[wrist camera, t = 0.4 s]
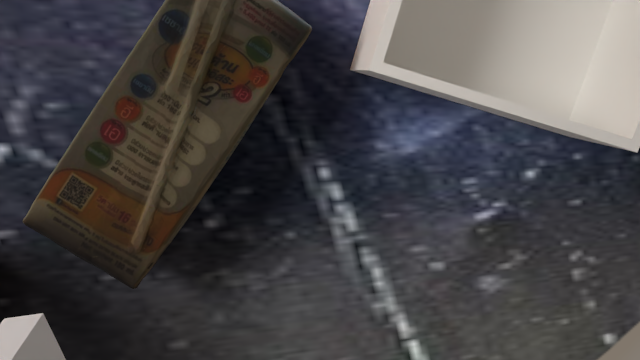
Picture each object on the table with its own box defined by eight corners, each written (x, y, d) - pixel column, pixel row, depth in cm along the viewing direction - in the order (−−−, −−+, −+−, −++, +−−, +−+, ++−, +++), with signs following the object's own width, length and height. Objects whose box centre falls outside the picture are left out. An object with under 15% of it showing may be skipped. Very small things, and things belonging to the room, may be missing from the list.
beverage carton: (313, 33, 38) (321, 27, 32) (154, 264, 40) (131, 302, 34) (211, -42, 37) (197, -65, 30) (52, 201, 39) (7, 228, 33)
